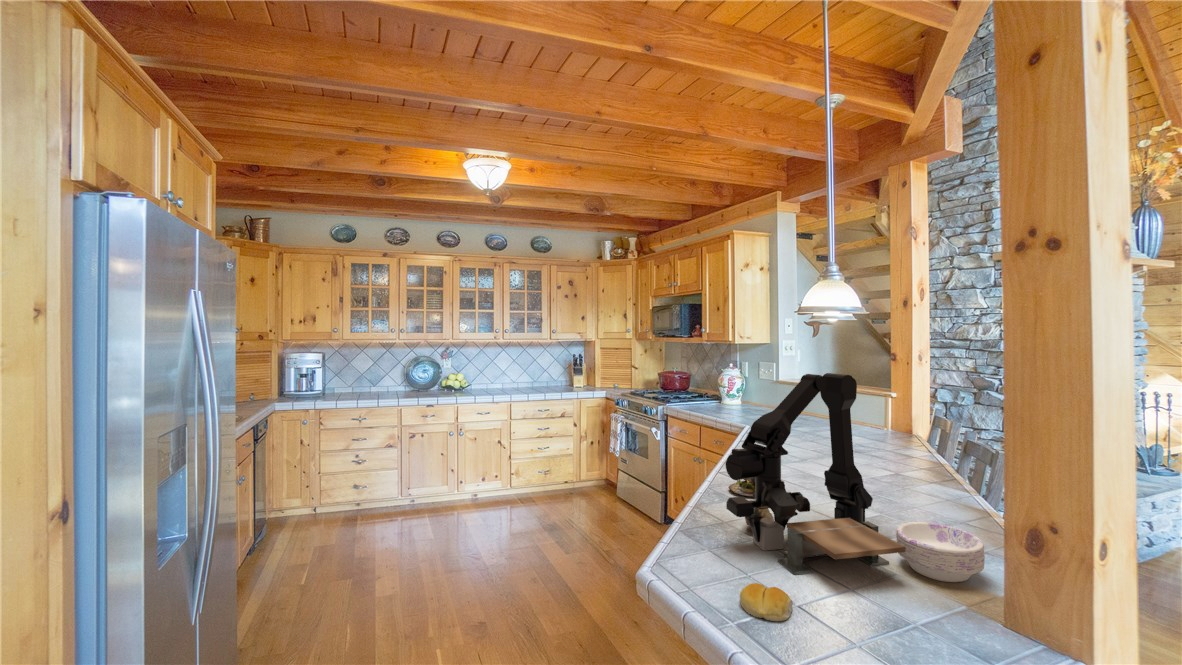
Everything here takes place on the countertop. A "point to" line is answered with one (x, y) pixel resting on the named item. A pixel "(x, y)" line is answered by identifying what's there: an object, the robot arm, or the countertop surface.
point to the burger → (744, 487)
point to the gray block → (770, 535)
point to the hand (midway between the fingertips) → (768, 540)
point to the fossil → (763, 514)
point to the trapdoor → (843, 539)
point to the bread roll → (766, 602)
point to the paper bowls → (941, 551)
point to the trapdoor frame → (795, 555)
